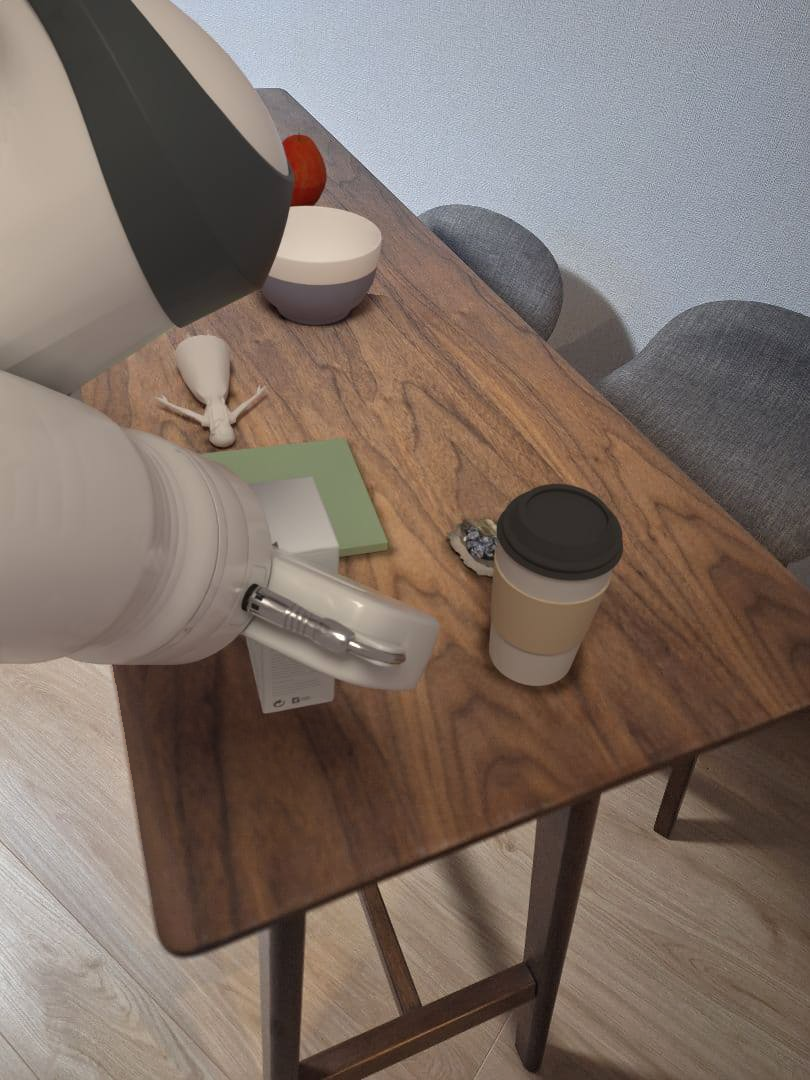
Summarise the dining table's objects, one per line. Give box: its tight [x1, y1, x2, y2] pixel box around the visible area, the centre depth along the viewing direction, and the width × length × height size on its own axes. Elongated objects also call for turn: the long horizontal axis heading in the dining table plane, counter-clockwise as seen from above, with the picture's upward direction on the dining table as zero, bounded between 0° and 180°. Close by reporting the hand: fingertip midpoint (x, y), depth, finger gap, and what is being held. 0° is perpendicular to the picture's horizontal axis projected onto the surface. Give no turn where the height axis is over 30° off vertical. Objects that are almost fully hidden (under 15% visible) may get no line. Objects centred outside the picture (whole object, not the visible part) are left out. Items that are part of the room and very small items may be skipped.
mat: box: [199, 437, 389, 558], centre depth 84 cm, size 18×16×1 cm
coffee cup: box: [488, 483, 624, 687], centre depth 68 cm, size 9×9×15 cm
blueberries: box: [445, 517, 498, 577], centre depth 81 cm, size 7×8×2 cm
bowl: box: [259, 205, 383, 326], centre depth 110 cm, size 16×16×10 cm
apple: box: [282, 132, 328, 207], centre depth 132 cm, size 8×8×11 cm
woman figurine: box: [154, 330, 268, 448], centre depth 95 cm, size 12×4×18 cm
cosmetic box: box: [245, 476, 340, 714], centre depth 50 cm, size 6×4×12 cm
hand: (293, 584), depth 50 cm, fingers closed on cosmetic box, 7 cm apart
